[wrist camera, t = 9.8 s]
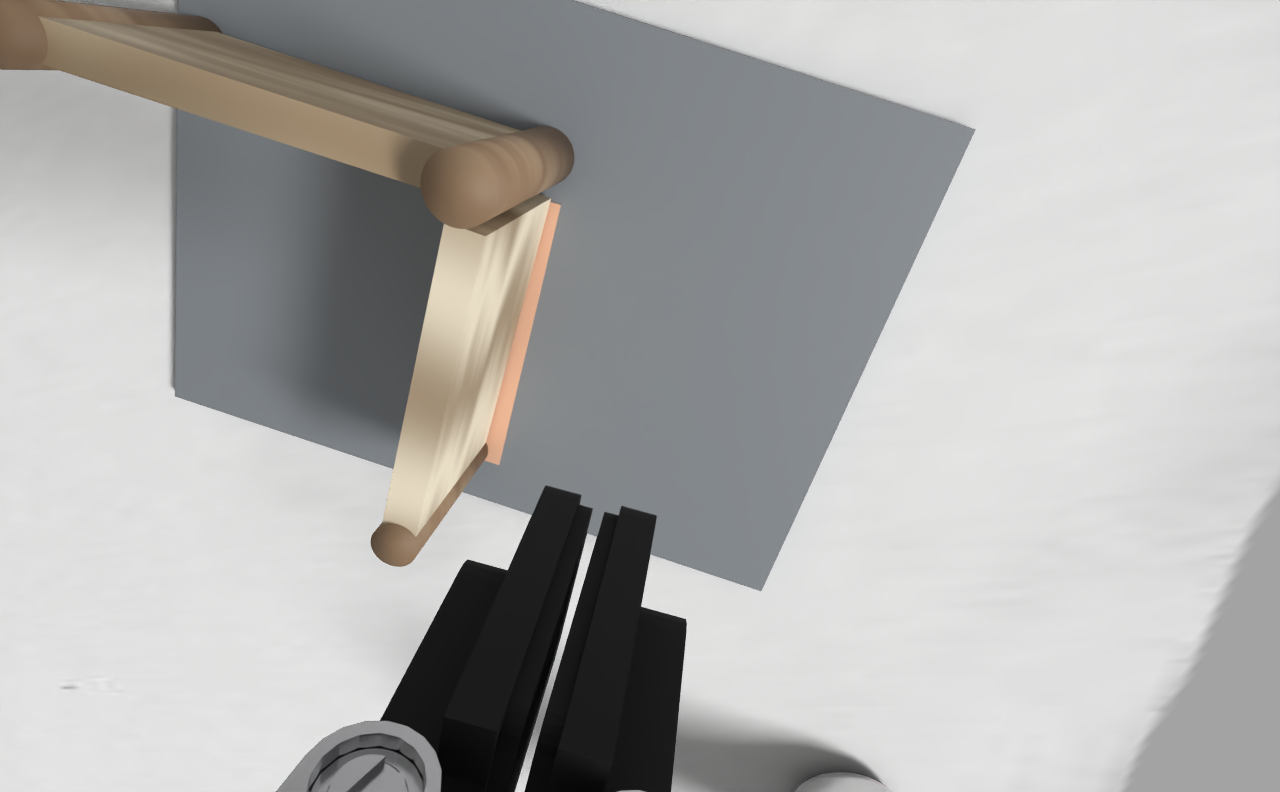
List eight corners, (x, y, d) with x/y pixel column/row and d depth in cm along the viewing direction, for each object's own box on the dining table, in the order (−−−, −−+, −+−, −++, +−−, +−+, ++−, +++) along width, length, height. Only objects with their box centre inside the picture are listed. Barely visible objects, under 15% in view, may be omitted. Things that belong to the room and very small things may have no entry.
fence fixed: (180, 6, 26) (-67, -25, 18) (580, 135, 25) (504, 161, 18) (180, 66, 26) (-56, 61, 19) (566, 191, 26) (488, 239, 19)
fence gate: (514, 184, 26) (434, 220, 20) (556, 200, 26) (489, 240, 20) (448, 456, 31) (367, 556, 25) (483, 469, 31) (411, 572, 25)
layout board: (189, -123, 24) (176, -127, 24) (971, 128, 24) (976, 129, 23) (182, 391, 33) (173, 397, 32) (761, 584, 32) (761, 592, 32)
